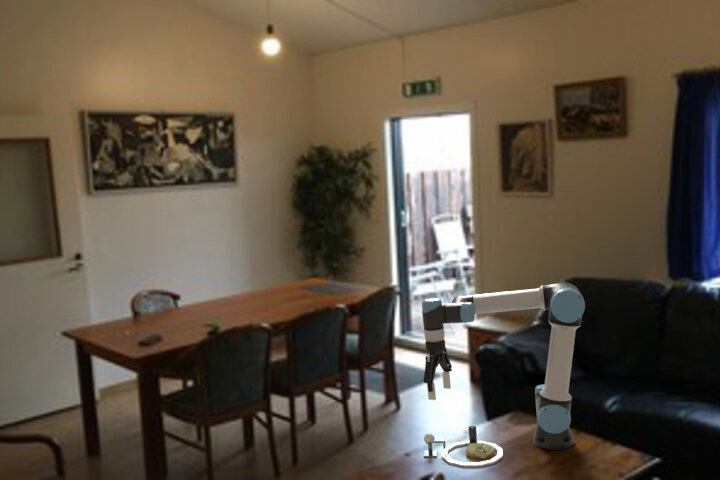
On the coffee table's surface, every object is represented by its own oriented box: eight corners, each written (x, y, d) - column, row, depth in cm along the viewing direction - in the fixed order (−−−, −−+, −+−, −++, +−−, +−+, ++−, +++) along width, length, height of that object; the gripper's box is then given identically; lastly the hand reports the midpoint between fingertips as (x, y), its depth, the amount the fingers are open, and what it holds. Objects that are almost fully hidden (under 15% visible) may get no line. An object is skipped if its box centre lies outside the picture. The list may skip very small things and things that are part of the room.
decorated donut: (487, 463, 274) (486, 453, 273) (461, 458, 280) (460, 449, 280) (498, 453, 282) (498, 443, 282) (473, 448, 288) (473, 439, 288)
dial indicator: (446, 452, 286) (445, 430, 285) (445, 458, 281) (444, 435, 280) (425, 452, 288) (423, 430, 287) (423, 458, 283) (422, 435, 282)
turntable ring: (502, 442, 291) (501, 425, 290) (502, 467, 268) (501, 448, 267) (444, 442, 296) (443, 426, 295) (440, 467, 273) (438, 449, 272)
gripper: (439, 331, 291) (444, 383, 293) (411, 347, 269) (416, 403, 272) (457, 331, 287) (461, 384, 289) (429, 348, 266) (434, 405, 268)
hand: (439, 393), depth 280 cm, fingers open, 13 cm apart
